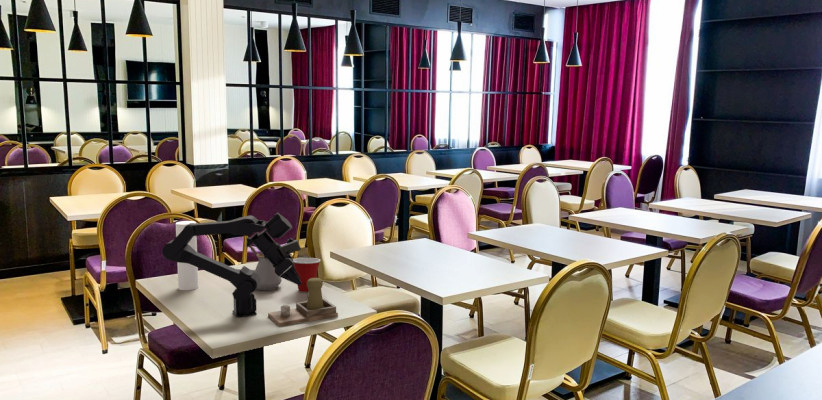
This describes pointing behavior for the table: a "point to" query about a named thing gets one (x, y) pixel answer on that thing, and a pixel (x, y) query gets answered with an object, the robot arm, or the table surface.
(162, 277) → the table surface
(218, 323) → the table surface
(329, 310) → the cruet holder
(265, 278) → the coffee pot
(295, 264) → the plastic cup
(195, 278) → the cylindrical container
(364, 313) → the table surface
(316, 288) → the cork
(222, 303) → the table surface
